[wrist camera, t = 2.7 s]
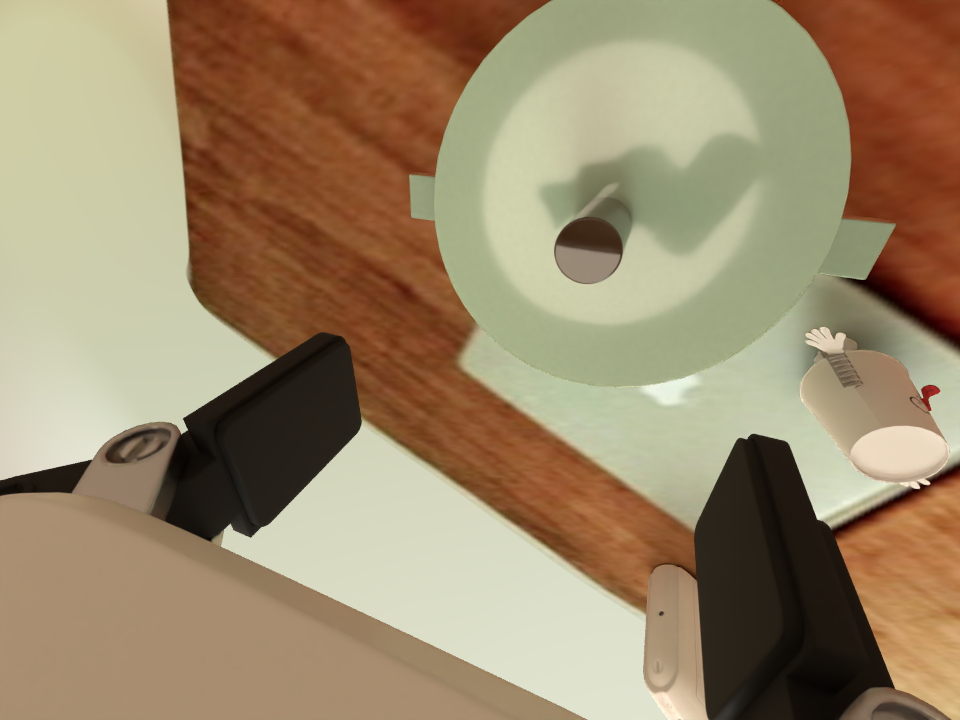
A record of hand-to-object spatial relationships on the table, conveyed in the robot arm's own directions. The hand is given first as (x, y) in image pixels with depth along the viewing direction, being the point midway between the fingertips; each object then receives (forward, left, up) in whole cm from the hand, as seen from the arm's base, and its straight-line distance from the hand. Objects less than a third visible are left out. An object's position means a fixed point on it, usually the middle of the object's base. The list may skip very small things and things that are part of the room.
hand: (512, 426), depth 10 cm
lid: (0, -2, -14) cm, 14 cm away
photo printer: (-15, +35, -23) cm, 44 cm away
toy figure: (-16, +7, -23) cm, 29 cm away
